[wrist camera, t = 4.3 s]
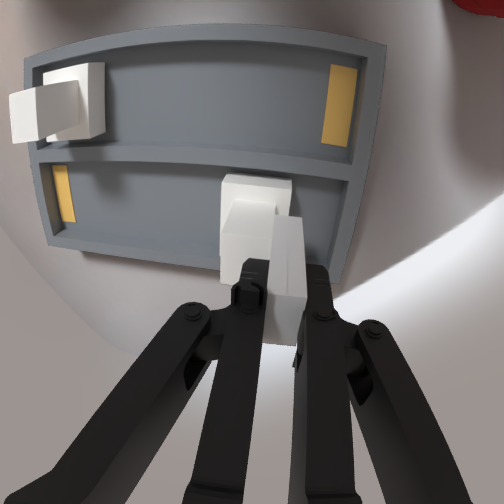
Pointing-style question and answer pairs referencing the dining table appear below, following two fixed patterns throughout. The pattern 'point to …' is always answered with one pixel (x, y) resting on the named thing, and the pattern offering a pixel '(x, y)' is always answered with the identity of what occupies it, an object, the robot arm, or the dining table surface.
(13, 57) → the dining table surface
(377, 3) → the dining table surface
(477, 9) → the plastic cup
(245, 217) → the tab
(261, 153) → the grey divided tray
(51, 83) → the tab
